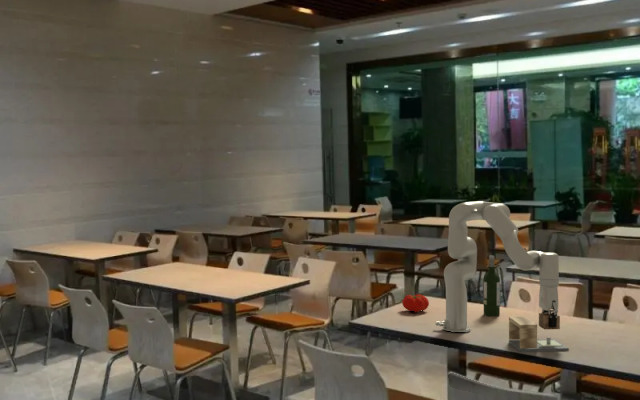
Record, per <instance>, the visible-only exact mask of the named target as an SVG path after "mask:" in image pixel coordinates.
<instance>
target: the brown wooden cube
mask: <svg viewBox="0 0 640 400" xmlns="http://www.w3.org/2000/svg"><path fill="white" fill-rule="evenodd" d="M551 314H552V312H551ZM549 318H550V317H549V313H542V312H538V327H540V328H542V329H543V330H560V329H561V327H560V326H561V316H560V315H559V314H557V327H549Z"/></svg>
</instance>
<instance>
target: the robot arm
mask: <svg viewBox="0 0 640 400" xmlns="http://www.w3.org/2000/svg"><path fill="white" fill-rule="evenodd" d="M510 216H511V211H510V208H509V207H508V206H507V205H506V204H505V203H500V202H491V201H490V202H489V201H479V200H476V201H475V200H473V201H465V202H461V203H459V204H457V205H455V206H453V207H452V209H451V210H450V212H449V215H448V238H447V240H448V241H447V253H448V256H449V257H450V258H452V259H454V260H456V261H453V262H450V263H448V264H447V265H446V266H445V268H444V270H443V278H444V283H445V318H444V319H443V320H441V321H438V320H437V321H435V326H436V327H437V326H439V327H442V330H443V329H444V330H447V331H451V332H466V333H470V331H471V327H470V326H469V325H468V291H467V290H468V289H467V286H466V282H465V281H469V280H471V279H473V278H474V277H475V275H476V272H477V263H478V261H477V260H478V259H477V258H478V247H477V246H478V245H477V242H475V240H474V239H473V238H471V237H470V236H468V233H469V230H468V229H469V228H468V225H467V222H470V221H477V220H481V221H482V220H483V221H486V223H487V224H488V225H489V227H490V228H491V229H492V230H493V232H494V233H495V234H496V235H497V236H498V238H500V240H501V242H502V245H503V247H504V248H503V249H504V250H505V252H506V253H505V254H506V255H507V256H508V257H509V259H510V260H511V262H513V263H514V265H515V266H516V267H518V268H519V269H520V270H521V271H531V270H535V269H539V294H538V306H539V308H541V313H549V317H550V318H549V327H557V315H558V312H559V291H558V287H560V283H559V282H560V278H559V276H560V275H559V274H560V273H559V271H560V270H559V266H560V265H559V261H560V259H559V257H560V256H559V254H557V253H556V252H552V251H551V252H550V251H549V252H544V251H538V250H529V251H527V250H526V249H525V248H524V247H523V246H522V244H521V243H520V241H519V238H518V233H519V228H518V227H517V225H516V224H515V223H514V222H513V221H512V220H511V218H510ZM551 313H552V314H551ZM444 330H443V331H444ZM451 332H450V333H451Z"/></svg>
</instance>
